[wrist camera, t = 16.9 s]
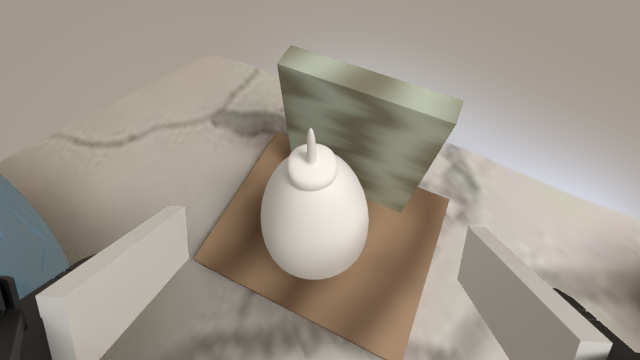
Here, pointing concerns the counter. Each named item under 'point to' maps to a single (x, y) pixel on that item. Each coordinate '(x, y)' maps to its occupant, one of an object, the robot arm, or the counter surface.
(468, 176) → the counter surface
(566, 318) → the robot arm
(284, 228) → the sauce bottle
